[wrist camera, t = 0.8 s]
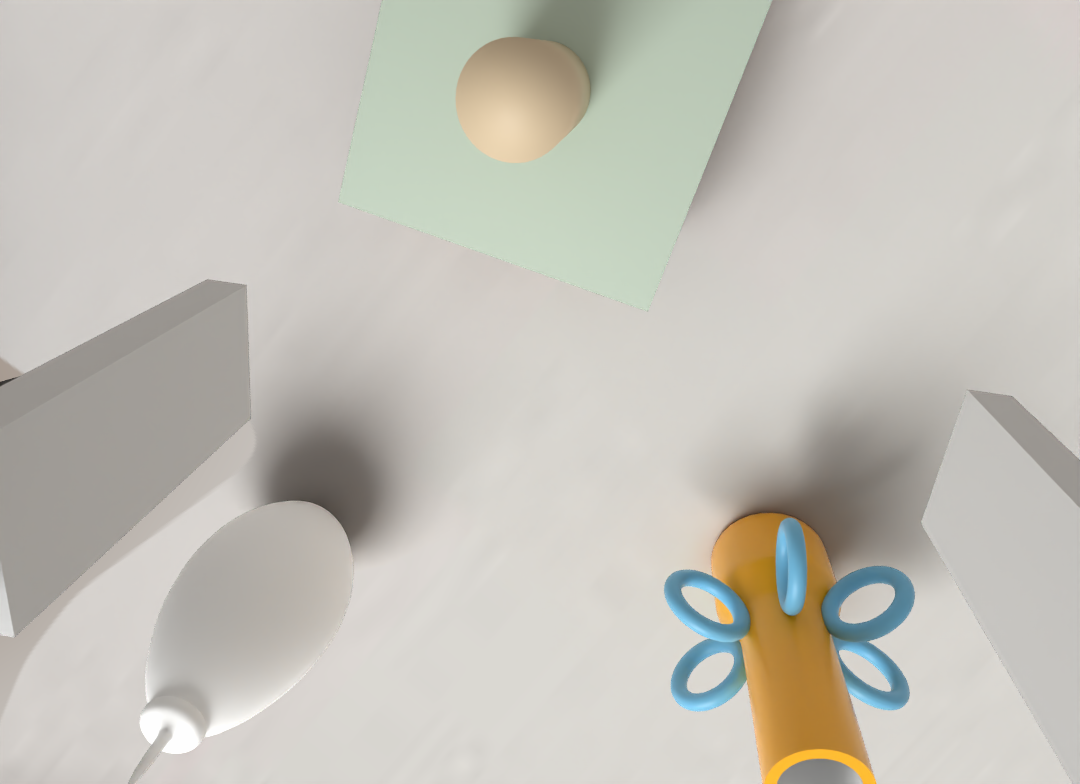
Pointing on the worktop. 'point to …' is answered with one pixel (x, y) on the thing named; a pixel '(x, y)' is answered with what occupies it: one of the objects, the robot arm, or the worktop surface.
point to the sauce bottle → (244, 623)
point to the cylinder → (790, 647)
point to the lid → (549, 127)
